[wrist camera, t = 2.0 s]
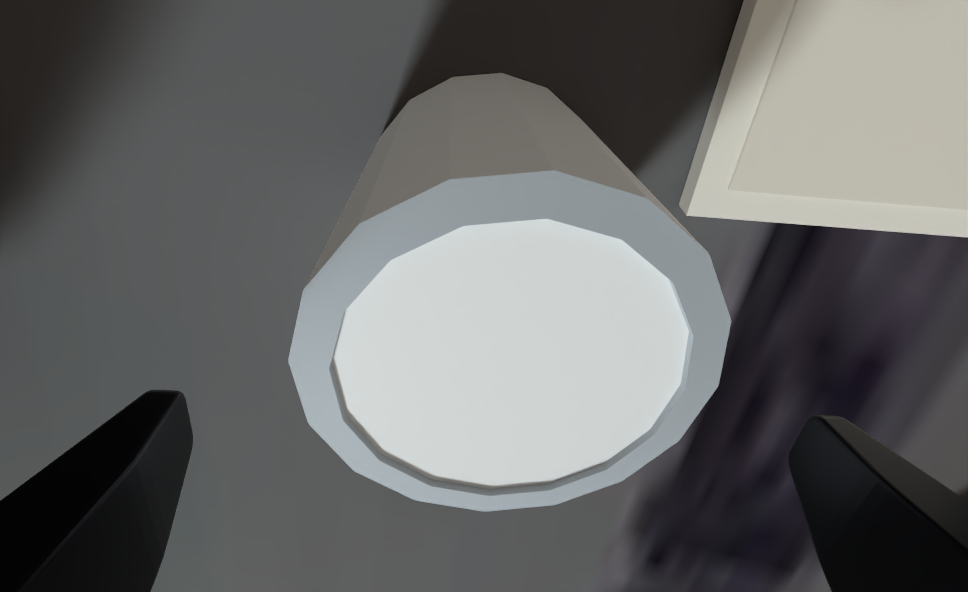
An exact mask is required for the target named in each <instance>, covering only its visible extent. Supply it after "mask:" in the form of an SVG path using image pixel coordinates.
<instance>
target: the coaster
mask: <svg viewBox="0 0 968 592" xmlns="http://www.w3.org/2000/svg"><path fill="white" fill-rule="evenodd" d="M679 206H680V207H681V209H682V210H683V211H684V213H685V214H686V216H699V217H712V218H725V219H737V220H750V221H763V222H776V223H789V224H802V225H815V226H828V227H841V228H854V229H867V230H880V231H892V232H905V233H918V234H931V235H944V236H957V237H968V0H744V1H743V4H742V7H741V10H740V13H739V17H738V20H737V23H736V26H735V29H734V32H733V35H732V39H731V42H730V45H729V48H728V51H727V54H726V58H725V61H724V64H723V67H722V70H721V73H720V76H719V80H718V83H717V86H716V89H715V92H714V95H713V99H712V102H711V105H710V108H709V111H708V114H707V117H706V121H705V124H704V127H703V130H702V133H701V136H700V140H699V143H698V146H697V149H696V152H695V155H694V158H693V162H692V165H691V168H690V171H689V174H688V177H687V181H686V184H685V187H684V190H683V193H682V196H681V199H680V203H679Z"/></svg>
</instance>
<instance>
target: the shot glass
mask: <svg viewBox="0 0 968 592" xmlns="http://www.w3.org/2000/svg"><path fill="white" fill-rule="evenodd" d="M730 325H731V318H730V315H729V312H728V309H727V306H726V303H725V300H724V297H723V294H722V291H721V288H720V285H719V282H718V279H717V276H716V273H715V270H714V267H713V264H712V261H711V258H710V255H709V253H708V252H707V251H706V250H705V249H704V248H703V247H702V246H701V245H700V244H699V243H698V242H697V241H696V239H695V238H694V237H693V236H692V235H691V234H690V233H689V232H688V231H687V230H686V229H685V228H684V227H683V226H682V225H681V224H680V223H679V222H678V221H677V220H676V218H675V217H674V216H673V215H672V214H671V213H670V212H669V211H668V210H667V209H666V208H665V207H664V206H663V205H662V204H661V203H660V202H659V201H658V200H657V198H656V197H655V196H654V195H653V194H652V193H651V192H650V191H649V190H648V189H647V188H646V187H645V186H644V185H643V184H642V183H641V182H640V181H639V180H638V179H637V177H636V176H635V175H634V174H633V173H632V172H631V171H630V170H629V169H628V168H627V167H626V166H625V165H624V164H623V163H622V162H621V161H620V160H619V159H618V157H617V156H616V155H615V154H614V153H613V152H612V151H611V150H610V149H609V148H608V147H607V146H606V145H605V144H604V143H603V142H602V141H601V140H600V139H599V138H598V136H597V135H596V134H595V133H594V132H593V131H592V130H591V129H590V128H589V127H588V126H587V125H586V124H585V123H584V122H583V121H582V120H581V119H580V118H579V117H578V116H577V115H576V114H575V113H574V112H573V111H572V110H571V109H570V108H568V107H567V106H566V105H565V104H564V103H563V102H562V101H561V100H560V99H559V98H558V97H556V96H555V95H554V94H553V93H552V92H551V91H550V90H549V89H548V88H546V87H543V86H540V85H537V84H534V83H531V82H528V81H525V80H522V79H519V78H516V77H513V76H510V75H507V74H504V73H494V74H482V75H470V76H458V77H452V78H450V79H448V80H446V81H444V82H442V83H440V84H438V85H436V86H435V87H433V88H431V89H429V90H427V91H425V92H423V93H421V94H419V95H418V96H416V97H414V98H412V99H410V100H409V101H408V102H407V104H406V105H405V106H404V107H403V109H402V110H401V111H400V112H399V114H398V115H397V116H396V117H395V119H394V120H393V121H392V122H391V124H390V125H389V126H388V127H387V129H386V130H385V131H384V132H383V134H382V135H381V136H380V138H379V140H378V142H377V144H376V146H375V148H374V150H373V152H372V154H371V156H370V158H369V160H368V162H367V164H366V166H365V168H364V170H363V172H362V174H361V176H360V178H359V180H358V182H357V184H356V186H355V188H354V190H353V192H352V194H351V196H350V198H349V200H348V202H347V204H346V206H345V208H344V210H343V212H342V214H341V216H340V218H339V220H338V222H337V224H336V226H335V228H334V230H333V232H332V234H331V236H330V238H329V240H328V242H327V244H326V246H325V248H324V250H323V252H322V254H321V256H320V258H319V260H318V262H317V264H316V266H315V268H314V270H313V272H312V274H311V276H310V278H309V280H308V282H307V284H306V286H305V287H304V289H303V294H302V298H301V303H300V308H299V312H298V317H297V322H296V326H295V331H294V336H293V340H292V345H291V350H290V355H289V359H288V362H289V365H290V368H291V371H292V374H293V377H294V381H295V384H296V387H297V390H298V393H299V396H300V399H301V402H302V406H303V409H304V412H305V415H306V418H307V421H308V424H309V425H310V426H311V427H312V428H313V429H314V430H315V431H316V432H317V433H318V434H319V435H320V436H321V437H322V438H323V439H324V440H325V441H326V443H327V444H328V445H329V446H330V447H331V448H332V449H333V450H334V451H335V452H336V453H337V454H338V455H339V456H340V457H341V458H342V459H343V460H344V461H345V462H346V463H347V464H348V465H349V466H350V468H351V469H352V470H353V471H355V472H357V473H359V474H361V475H363V476H365V477H367V478H370V479H372V480H374V481H376V482H378V483H380V484H382V485H384V486H386V487H388V488H390V489H392V490H394V491H397V492H399V493H401V494H403V495H405V496H407V497H409V498H411V499H413V500H416V501H422V502H428V503H434V504H441V505H447V506H453V507H459V508H465V509H472V510H478V511H484V512H485V511H495V510H506V509H517V508H527V507H538V506H549V505H556V504H559V503H562V502H565V501H568V500H570V499H573V498H576V497H579V496H582V495H584V494H587V493H590V492H593V491H596V490H598V489H601V488H604V487H607V486H610V485H612V484H615V483H618V482H621V481H623V480H624V479H626V478H627V477H629V476H630V475H631V474H633V473H634V472H636V471H637V470H638V469H640V468H641V467H643V466H644V465H645V464H647V463H648V462H650V461H651V460H653V459H654V458H655V457H657V456H658V455H660V454H661V453H662V452H664V451H665V450H667V449H668V448H670V447H671V446H672V445H674V444H675V443H677V442H678V441H679V440H680V439H681V437H682V436H683V435H684V433H685V432H686V430H687V429H688V428H689V426H690V425H691V423H692V422H693V421H694V419H695V418H696V416H697V415H698V414H699V412H700V411H701V409H702V408H703V407H704V405H705V404H706V402H707V401H708V400H709V398H710V397H711V396H712V394H713V393H714V391H715V390H716V389H717V387H718V385H719V380H720V375H721V370H722V365H723V360H724V355H725V350H726V345H727V340H728V335H729V330H730Z"/></svg>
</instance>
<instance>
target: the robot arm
mask: <svg viewBox="0 0 968 592" xmlns="http://www.w3.org/2000/svg"><path fill="white" fill-rule="evenodd" d="M192 445H193V433H192V428H191V423H190V418H189V413H188V408H187V403H186V399H185V396H184V395H183V393H181V392H180V391H173V390H150V391H148V392H146V393H144V394H143V395H141V396H140V397H139V398H137V399H136V400H135V401H133V402H132V403H131V404H129V405H128V406H127V407H125V408H124V409H123V410H121V411H120V412H119V413H117V414H116V415H115V416H113V417H112V418H111V419H109V420H108V421H107V422H105V423H104V424H103V425H101V426H100V427H99V428H97V429H96V430H95V431H93V432H92V433H91V434H89V435H88V436H87V437H85V438H84V439H82V440H81V441H80V442H78V443H77V444H76V445H74V446H73V447H72V448H70V449H69V450H68V451H66V452H65V453H64V454H62V455H61V456H60V457H58V458H57V459H56V460H54V461H53V462H52V463H50V464H49V465H48V466H46V467H45V468H44V469H42V470H41V471H40V472H38V473H37V474H36V475H34V476H33V477H32V478H30V479H29V480H28V481H26V482H25V483H24V484H22V485H21V486H20V487H18V488H17V489H16V490H14V491H13V492H12V493H10V494H9V495H8V496H6V497H5V498H4V499H2V500H1V501H0V592H150V591H151V589H152V586H153V584H154V581H155V579H156V576H157V573H158V570H159V568H160V565H161V562H162V559H163V556H164V553H165V549H166V546H167V542H168V539H169V535H170V531H171V527H172V524H173V520H174V516H175V512H176V508H177V505H178V501H179V497H180V493H181V489H182V486H183V482H184V478H185V474H186V470H187V467H188V463H189V459H190V455H191V451H192ZM788 461H789V468H790V472H791V475H792V478H793V481H794V484H795V487H796V491H797V494H798V497H799V500H800V503H801V506H802V509H803V513H804V516H805V519H806V522H807V525H808V528H809V532H810V535H811V538H812V541H813V544H814V547H815V550H816V553H817V556H818V559H819V562H820V564H821V567H822V569H823V572H824V574H825V577H826V579H827V581H828V584H829V586H830V588H831V591H832V592H968V501H966V500H965V499H963V498H962V497H960V496H959V495H957V494H956V493H954V492H953V491H951V490H950V489H948V488H947V487H945V486H944V485H942V484H941V483H939V482H938V481H936V480H935V479H934V478H932V477H931V476H929V475H928V474H926V473H925V472H923V471H922V470H920V469H919V468H917V467H916V466H914V465H913V464H911V463H910V462H908V461H907V460H905V459H904V458H902V457H901V456H899V455H898V454H896V453H895V452H893V451H892V450H891V449H889V448H888V447H886V446H885V445H883V444H882V443H880V442H879V441H877V440H876V439H874V438H873V437H871V436H870V435H868V434H867V433H865V432H864V431H862V430H861V429H859V428H858V427H856V426H855V425H853V424H852V423H850V422H849V421H847V420H846V419H844V418H843V417H840V416H835V415H814V416H812V417H810V418H809V419H808V420H807V421H806V423H805V425H804V427H803V428H802V430H801V432H800V434H799V435H798V437H797V439H796V441H795V443H794V444H793V446H792V448H791V450H790V453H789V460H788Z"/></svg>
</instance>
